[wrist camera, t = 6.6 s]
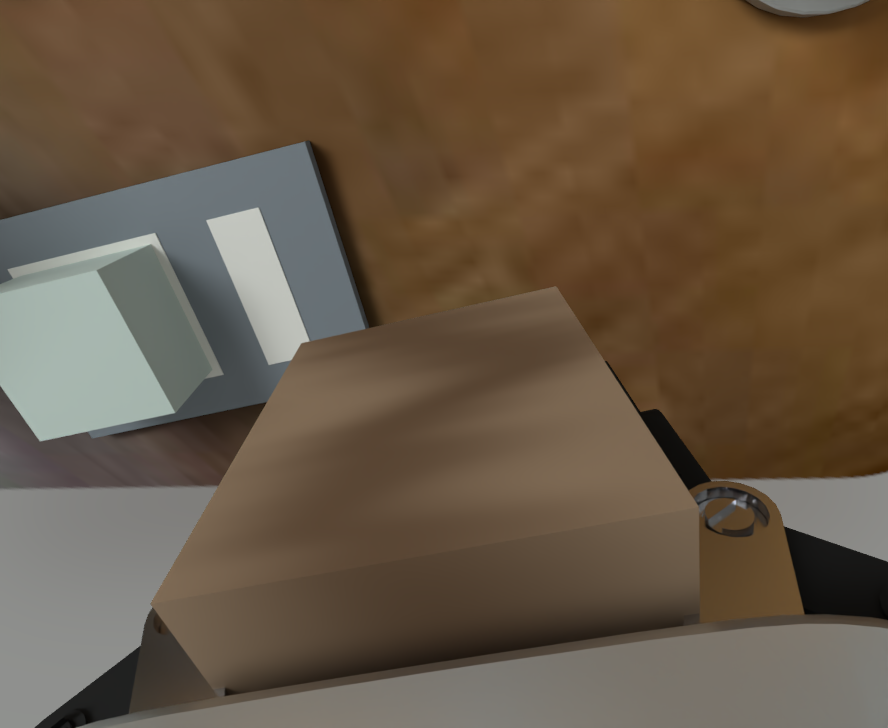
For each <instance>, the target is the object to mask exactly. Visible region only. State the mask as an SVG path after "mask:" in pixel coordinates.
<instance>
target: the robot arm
mask: <svg viewBox="0 0 888 728" xmlns="http://www.w3.org/2000/svg"><path fill="white" fill-rule="evenodd" d="M746 1H748V2H749V3H751V4H752V5H754V6H755V7H757V8H759V9H762V10H765V11H768V12H771V13H774V14H777V15H780V16H791V17H812V16H818V15H825V14H831V13H835V12H838V11H842V10H845V9H849V8H853V7H857V6H859V5H861V4H863V3H865V2H867V1H870V0H746ZM605 363H606V364H607V366H608V367H609V369H610V370H611V372H612V374H613V375H614V377H615V378H616V380H617V381H618V383H619V384H620V386H621V387H622V389H623V391H624V392H625V394H626V395H627V397H628V398H629V400H630V401H631V403H632V404H633V406H634V408H635V409H636V411H637V412H638V414H639V415H640V417H641V418H642V420H643V421H644V423H645V425H646V426H647V428H648V429H649V431H650V432H651V434H652V435H653V437H654V438H655V440H656V442H657V443H658V445H659V446H660V448H661V449H662V451H663V452H664V454H665V455H666V457H667V459H668V460H669V462H670V463H671V465H672V466H673V468H674V469H675V471H676V472H677V474H678V476H679V477H680V479H681V480H682V482H683V483H684V485H685V486H686V488H687V489H688V491H689V493H690V494H691V496H692V497H693V499H694V500H695V502H696V503H697V505H698V506H699V573H700V613H697V614H691V615H684V626H679V627H672V628H664V629H657V630H649V631H642V632H635V633H628V634H621V635H615V636H608V637H601V638H595V639H588V640H581V641H575V642H568V643H561V644H555V645H548V646H541V647H535V648H528V649H521V650H515V651H508V652H501V653H495V654H488V655H482V656H476V657H469V658H463V659H456V660H450V661H443V662H437V663H430V664H424V665H417V666H411V667H405V668H398V669H392V670H386V671H379V672H373V673H366V674H360V675H354V676H347V677H341V678H335V679H329V680H322V681H316V682H310V683H304V684H298V685H292V686H285V687H279V688H273V689H267V690H261V691H254V692H248V693H242V694H236V695H230V694H229V693H228V692H227V690H226V689H225V688H219V689H212V687H211V686H210V685H209V683H208V682H207V681H206V679H205V678H204V676H203V675H202V674H201V672H200V671H199V670H198V668H197V667H196V666H195V664H194V663H193V661H192V660H191V659H190V657H189V656H188V655H187V653H186V652H185V650H184V649H183V648H182V646H181V645H180V644H179V642H178V641H177V640H176V638H175V637H174V635H173V634H172V633H171V631H170V630H169V629H168V627H167V626H166V624H165V623H164V622H163V620H162V619H161V618H160V616H159V615H158V614H157V612H156V611H155V609H154V608H152V609H151V611H150V612H149V614H148V616H147V619H146V622H145V624H144V630H143V635H142V641H141V646H140V647H138V648H137V649H136V650H134V651H133V652H132V653H130V654H129V655H128V656H127V657H126V658H124V659H123V660H121V661H120V662H119V663H117V664H116V665H115V666H114V667H112V668H111V669H109V670H108V671H107V672H106V673H104V674H103V675H102V676H100V677H99V678H98V679H96V680H95V681H94V682H92V683H91V684H90V685H89V686H87V687H86V688H85V689H83V690H82V691H81V692H79V693H78V694H77V695H76V696H74V697H73V698H72V699H70V700H69V701H68V702H66V703H65V704H64V705H62V706H61V707H60V708H59V709H57V710H56V711H55V712H53V713H52V714H51V715H49V716H48V717H47V718H46V719H44V720H43V721H42V722H41V723H39V724H38V725H37V726H36V727H35V728H888V562H887V561H884V560H881V559H878V558H875V557H872V556H869V555H866V554H863V553H860V552H857V551H854V550H851V549H848V548H846V547H842V546H840V545H837V544H834V543H831V542H828V541H825V540H822V539H819V538H816V537H813V536H810V535H808V534H805V533H802V532H798V531H796V530H793V529H790V528H787V527H784V526H783V521H782V517H781V514H780V512H779V510H778V508H777V506H776V504H775V503H774V502H773V501H772V500H771V499H770V498H769V497H768V496H767V495H765V494H763V493H762V492H760V491H758V490H757V489H755V488H752V487H749V486H747V485H744V484H741V483H735V482H729V481H711V480H710V479H709V478H708V476H707V475H706V473H705V472H704V471H703V469H702V468H701V467H700V465H699V464H698V462H697V461H696V460H695V458H694V457H693V455H692V454H691V453H690V451H689V450H688V449H687V447H686V446H685V444H684V443H683V442H682V440H681V439H680V438H679V436H678V435H677V433H676V432H675V431H674V429H673V428H672V426H671V425H670V424H669V422H668V421H667V420H666V418H665V417H664V415H663V414H662V413H661V412H660V411H659V410H657V409H653V410H648V411H643V412H640V411H639V409H638V408H637V406H636V405H635V403H634V402H633V400H632V399H631V397H630V395H629V394H628V392H627V391H626V389H625V388H624V386H623V385H622V383H621V382H620V380H619V379H618V377H617V376H616V374H615V373H614V371H613V370H612V368H611V367H610V365H609V363H608V362H607V361H605Z"/></svg>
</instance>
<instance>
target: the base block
mask: <svg viewBox="0 0 888 728" xmlns="http://www.w3.org/2000/svg"><path fill="white" fill-rule="evenodd" d="M212 370H213V369H212V367H211V365H210V363H209V361H208V359H207V357H206V355H205V353H204V351H203V349H202V347H201V345H200V343H199V341H198V339H197V337H196V335H195V333H194V331H193V329H192V327H191V325H190V323H189V321H188V319H187V316H186V314H185V312H184V310H183V308H182V306H181V304H180V302H179V300H178V298H177V296H176V294H175V292H174V290H173V288H172V286H171V284H170V282H169V280H168V278H167V276H166V274H165V272H164V270H163V268H162V266H161V264H160V262H159V260H158V257H157V255H156V253H155V251H154V249H153V247H152V245H151V244H149V245H145V246H141V247H137V248H133V249H128V250H124V251H120V252H116V253H112V254H108V255H104V256H100V257H96V258H92V259H88V260H84V261H79V262H75V263H71V264H67V265H63V266H59V267H55V268H51V269H47V270H43V271H39V272H34V273H30V274H26V275H22V276H19V277H17V278H14V279H12V280H9V281H7V282H4V283H2V284H0V386H1V387H2V389H3V390H4V392H5V393H6V394H7V396H8V397H9V399H10V400H11V401H12V403H13V404H14V406H15V407H16V408H17V410H18V411H19V413H20V414H21V415H22V417H23V418H24V420H25V421H26V422H27V424H28V425H29V427H30V428H31V429H32V431H33V432H34V434H35V435H36V436H37V438H38V439H39V441H44V440H49V439H54V438H58V437H63V436H68V435H73V434H77V433H82V432H87V431H92V430H96V429H101V428H106V427H111V426H115V425H120V424H125V423H130V422H134V421H139V420H144V419H149V418H154V417H158V416H163V415H168V414H173V413H176V412H177V410H178V409H179V408H180V407H181V406H182V405H183V403H184V402H185V401H186V400H187V399H188V398H189V396H190V395H191V394H192V393H193V392H194V391H195V389H196V388H197V387H198V386H199V385H200V384H201V382H202V381H203V380H204V379H205V378H206V377H207V375H208V374H209V373H210V372H211V371H212Z"/></svg>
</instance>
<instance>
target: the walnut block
mask: <svg viewBox="0 0 888 728" xmlns="http://www.w3.org/2000/svg"><path fill="white" fill-rule="evenodd" d="M151 605H152V607H153V608H154V609H155V611H156V612H157V614H158V615H159V616H160V618H161V619H162V620H163V622H164V623H165V624H166V626H167V627H168V629H169V630H170V631H171V633H172V634H173V635H174V637H175V638H176V640H177V641H178V642H179V644H180V645H181V646H182V648H183V649H184V650H185V652H186V653H187V655H188V656H189V657H190V659H191V660H192V661H193V663H194V664H195V666H196V667H197V668H198V670H199V671H200V672H201V674H202V675H203V676H204V678H205V679H206V681H207V682H208V683H209V685H210V686H211V687H212V689H219V688H225V689H226V690H227V692H228V693H229V694H230V695H236V694H242V693H248V692H254V691H261V690H267V689H273V688H279V687H285V686H292V685H298V684H304V683H310V682H316V681H322V680H329V679H335V678H341V677H347V676H354V675H360V674H366V673H373V672H379V671H386V670H392V669H398V668H405V667H411V666H417V665H424V664H430V663H437V662H443V661H450V660H456V659H463V658H469V657H476V656H482V655H488V654H495V653H501V652H508V651H515V650H521V649H528V648H535V647H541V646H548V645H555V644H561V643H568V642H575V641H581V640H588V639H595V638H601V637H608V636H615V635H621V634H628V633H635V632H642V631H649V630H657V629H664V628H672V627H679V626H684V615H691V614H697V613H700V573H699V506H698V505H697V503H696V502H695V500H694V499H693V497H692V496H691V494H690V493H689V491H688V489H687V488H686V486H685V485H684V483H683V482H682V480H681V479H680V477H679V476H678V474H677V472H676V471H675V469H674V468H673V466H672V465H671V463H670V462H669V460H668V459H667V457H666V455H665V454H664V452H663V451H662V449H661V448H660V446H659V445H658V443H657V442H656V440H655V438H654V437H653V435H652V434H651V432H650V431H649V429H648V428H647V426H646V425H645V423H644V421H643V420H642V418H641V417H640V415H639V414H638V412H637V411H636V409H635V408H634V406H633V404H632V403H631V401H630V400H629V398H628V397H627V395H626V394H625V392H624V391H623V389H622V387H621V386H620V384H619V383H618V381H617V380H616V378H615V377H614V375H613V374H612V372H611V370H610V369H609V367H608V366H607V364H606V363H605V361H604V360H603V358H602V357H601V355H600V353H599V352H598V350H597V349H596V347H595V346H594V344H593V343H592V341H591V340H590V338H589V336H588V335H587V333H586V332H585V330H584V329H583V327H582V326H581V324H580V323H579V321H578V319H577V318H576V316H575V315H574V313H573V312H572V310H571V309H570V307H569V306H568V304H567V302H566V301H565V299H564V298H563V296H562V295H561V293H560V292H559V290H558V289H557V287H552V288H547V289H543V290H538V291H534V292H529V293H525V294H520V295H516V296H511V297H507V298H502V299H498V300H493V301H489V302H484V303H480V304H475V305H471V306H466V307H462V308H457V309H453V310H448V311H444V312H439V313H435V314H430V315H426V316H421V317H417V318H412V319H408V320H403V321H399V322H394V323H390V324H385V325H381V326H376V327H372V328H367V329H363V330H358V331H354V332H350V333H345V334H341V335H336V336H332V337H327V338H323V339H318V340H314V341H309V342H305V343H301V345H300V346H299V348H298V350H297V351H296V353H295V355H294V357H293V358H292V360H291V362H290V364H289V365H288V367H287V369H286V370H285V372H284V374H283V376H282V377H281V379H280V381H279V383H278V384H277V386H276V388H275V389H274V391H273V393H272V395H271V396H270V398H269V400H268V402H267V403H266V405H265V407H264V408H263V410H262V412H261V414H260V415H259V417H258V419H257V421H256V422H255V424H254V426H253V427H252V429H251V431H250V433H249V434H248V436H247V438H246V440H245V441H244V443H243V445H242V446H241V448H240V450H239V452H238V453H237V455H236V457H235V459H234V460H233V462H232V464H231V465H230V467H229V469H228V471H227V472H226V474H225V476H224V478H223V479H222V481H221V483H220V484H219V486H218V488H217V490H216V491H215V493H214V495H213V497H212V498H211V500H210V502H209V503H208V505H207V507H206V509H205V510H204V512H203V514H202V516H201V518H200V519H199V521H198V522H197V524H196V526H195V528H194V529H193V531H192V533H191V535H190V536H189V538H188V540H187V541H186V543H185V545H184V547H183V549H182V550H181V552H180V554H179V555H178V557H177V559H176V561H175V562H174V564H173V566H172V568H171V569H170V571H169V573H168V574H167V576H166V578H165V580H164V581H163V583H162V585H161V586H160V588H159V590H158V592H157V593H156V595H155V597H154V598H153V600H152V602H151Z"/></svg>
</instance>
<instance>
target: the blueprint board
mask: <svg viewBox="0 0 888 728" xmlns="http://www.w3.org/2000/svg"><path fill="white" fill-rule="evenodd" d="M149 244H151V245H152V247H153V249H154V251H155V253H156V255H157V257H158V260H159V262H160V264H161V266H162V268H163V270H164V272H165V274H166V276H167V278H168V280H169V282H170V284H171V286H172V288H173V290H174V292H175V294H176V296H177V298H178V300H179V302H180V304H181V306H182V308H183V310H184V312H185V314H186V316H187V319H188V321H189V323H190V325H191V327H192V329H193V331H194V333H195V335H196V337H197V339H198V341H199V343H200V345H201V347H202V349H203V351H204V353H205V355H206V357H207V359H208V361H209V363H210V365H211V367H212V369H213V370H212V371H211V372H210V373H209V374H208V375H207V377H206V378H205V379H204V380H203V381H202V382H201V384H200V385H199V386H198V387H197V388H196V389H195V391H194V392H193V393H192V394H191V395H190V396H189V398H188V399H187V400H186V401H185V402H184V403H183V405H182V406H181V407H180V408H179V409H178V410H177V412H176V413H173V414H168V415H163V416H158V417H154V418H149V419H144V420H139V421H134V422H130V423H125V424H120V425H115V426H111V427H106V428H101V429H96V430H92V431H88V433H89V434H90V436H91V437H92V438H96V437H101V436H106V435H111V434H115V433H120V432H125V431H130V430H135V429H139V428H144V427H149V426H154V425H159V424H163V423H168V422H173V421H178V420H183V419H187V418H192V417H197V416H202V415H207V414H211V413H216V412H221V411H226V410H231V409H235V408H240V407H245V406H250V405H255V404H259V403H264V402H268V400H269V398H270V396H271V395H272V393H273V391H274V389H275V388H276V386H277V384H278V383H279V381H280V379H281V377H282V376H283V374H284V372H285V370H286V369H287V367H288V365H289V364H290V362H291V360H292V358H293V357H294V355H295V353H296V351H297V350H298V348H299V346H300V345H301V343H305V342H309V341H314V340H318V339H323V338H327V337H332V336H336V335H341V334H345V333H350V332H354V331H358V330H363V329H367V328H369V325H368V322H367V319H366V316H365V313H364V310H363V306H362V303H361V300H360V297H359V294H358V291H357V288H356V285H355V282H354V278H353V275H352V272H351V269H350V266H349V263H348V260H347V257H346V253H345V250H344V247H343V244H342V241H341V238H340V235H339V232H338V229H337V225H336V222H335V219H334V216H333V213H332V210H331V207H330V204H329V200H328V197H327V194H326V191H325V188H324V185H323V182H322V179H321V175H320V172H319V169H318V166H317V163H316V160H315V157H314V154H313V151H312V147H311V144H310V141H305V142H302V143H298V144H294V145H290V146H286V147H282V148H278V149H274V150H270V151H267V152H263V153H259V154H255V155H251V156H247V157H243V158H239V159H235V160H232V161H228V162H224V163H220V164H216V165H212V166H208V167H204V168H201V169H197V170H193V171H189V172H185V173H181V174H177V175H173V176H169V177H166V178H162V179H158V180H154V181H150V182H146V183H142V184H138V185H134V186H131V187H127V188H123V189H119V190H115V191H111V192H107V193H103V194H99V195H96V196H92V197H88V198H84V199H80V200H76V201H72V202H68V203H64V204H61V205H57V206H53V207H49V208H45V209H41V210H37V211H33V212H30V213H26V214H22V215H18V216H14V217H10V218H6V219H2V220H0V284H2V283H4V282H7V281H9V280H12V279H14V278H17V277H19V276H22V275H26V274H30V273H34V272H39V271H43V270H47V269H51V268H55V267H59V266H63V265H67V264H71V263H75V262H79V261H84V260H88V259H92V258H96V257H100V256H104V255H108V254H112V253H116V252H120V251H124V250H128V249H133V248H137V247H141V246H145V245H149Z"/></svg>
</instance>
